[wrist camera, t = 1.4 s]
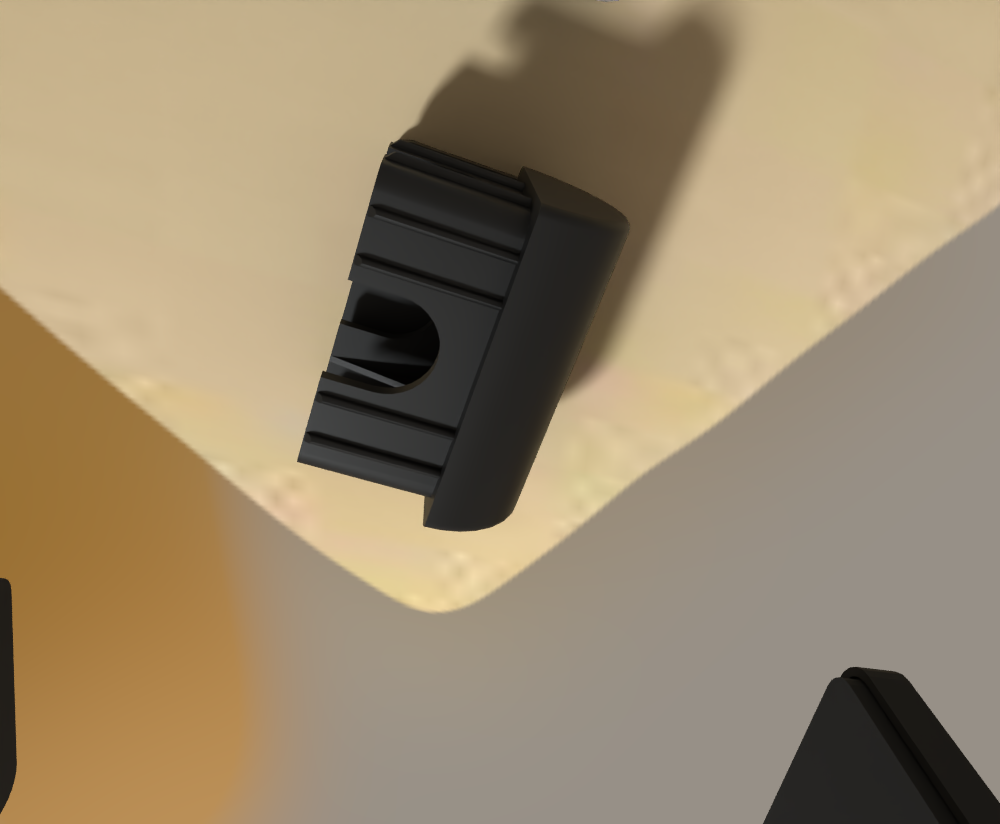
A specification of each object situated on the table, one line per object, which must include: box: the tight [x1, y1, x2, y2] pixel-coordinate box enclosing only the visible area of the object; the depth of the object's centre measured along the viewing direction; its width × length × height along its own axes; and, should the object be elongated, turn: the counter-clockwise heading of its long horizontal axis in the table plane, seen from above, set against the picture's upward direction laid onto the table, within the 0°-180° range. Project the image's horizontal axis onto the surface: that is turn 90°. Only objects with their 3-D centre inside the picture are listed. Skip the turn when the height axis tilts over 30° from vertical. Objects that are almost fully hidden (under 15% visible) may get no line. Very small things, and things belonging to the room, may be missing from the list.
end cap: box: [297, 140, 630, 532], centre depth 25 cm, size 10×7×7 cm
